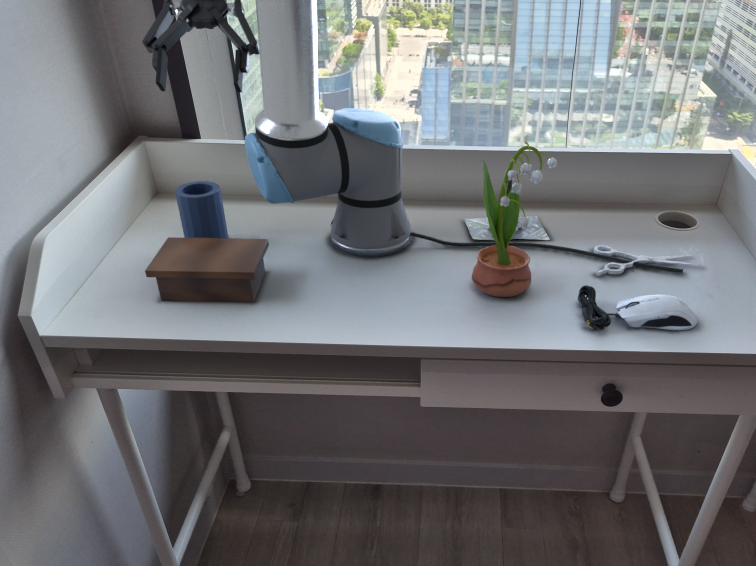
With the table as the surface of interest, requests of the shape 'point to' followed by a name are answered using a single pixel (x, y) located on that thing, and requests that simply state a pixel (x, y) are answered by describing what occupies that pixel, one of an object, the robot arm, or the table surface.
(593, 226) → the table surface
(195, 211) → the jar
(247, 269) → the overhanging wooden cap box
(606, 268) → the scissors
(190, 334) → the table surface
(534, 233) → the flat silver square plate
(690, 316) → the computer mouse
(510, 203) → the potted flower
